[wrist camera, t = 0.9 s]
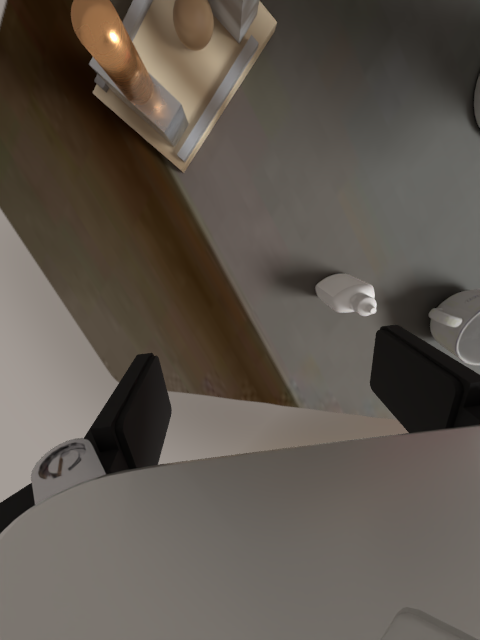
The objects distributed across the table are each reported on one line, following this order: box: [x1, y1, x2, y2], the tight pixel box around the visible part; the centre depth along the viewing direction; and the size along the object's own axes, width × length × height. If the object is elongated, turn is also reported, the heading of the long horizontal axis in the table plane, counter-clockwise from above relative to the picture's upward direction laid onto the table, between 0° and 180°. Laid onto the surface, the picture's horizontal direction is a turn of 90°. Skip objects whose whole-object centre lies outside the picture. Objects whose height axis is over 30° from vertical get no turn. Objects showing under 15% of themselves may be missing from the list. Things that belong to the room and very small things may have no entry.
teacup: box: [428, 290, 480, 365], centre depth 39 cm, size 14×11×8 cm
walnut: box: [173, 0, 214, 51], centre depth 25 cm, size 4×4×4 cm
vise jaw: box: [71, 0, 189, 147], centre depth 22 cm, size 3×8×14 cm, turn 51°
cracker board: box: [93, 0, 277, 173], centre depth 25 cm, size 18×12×8 cm, turn 141°
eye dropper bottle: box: [315, 273, 377, 316], centre depth 34 cm, size 4×6×12 cm
